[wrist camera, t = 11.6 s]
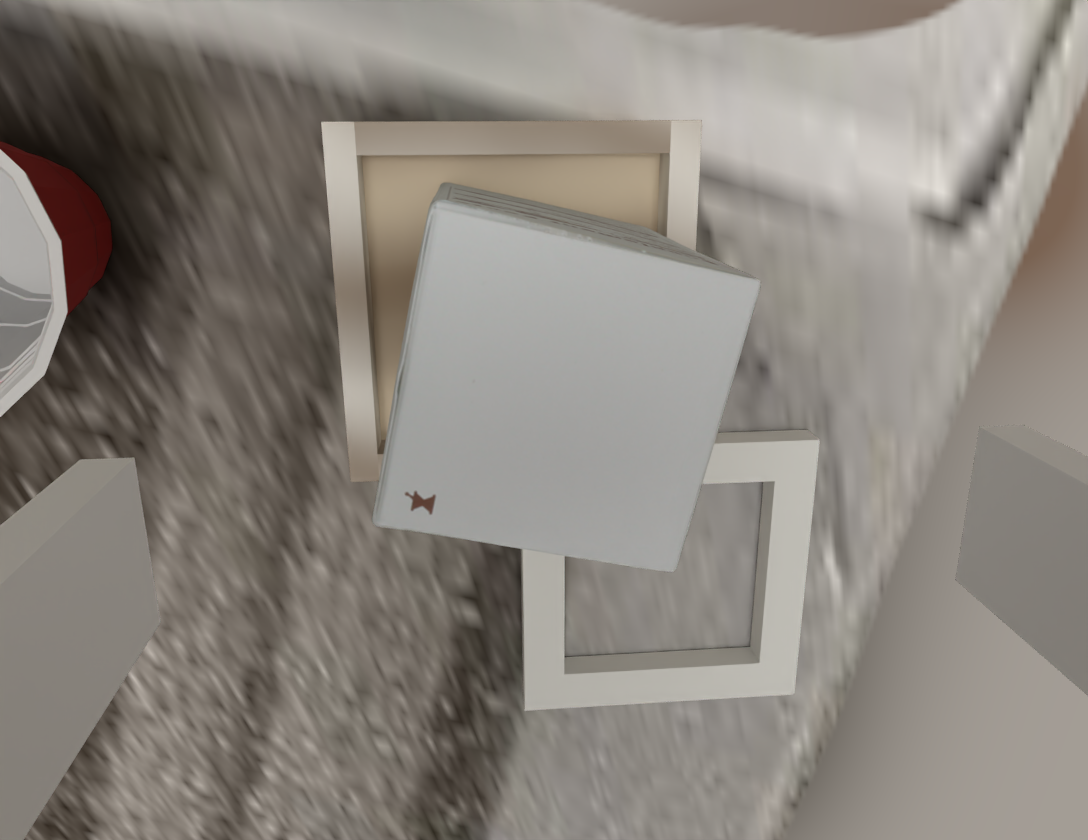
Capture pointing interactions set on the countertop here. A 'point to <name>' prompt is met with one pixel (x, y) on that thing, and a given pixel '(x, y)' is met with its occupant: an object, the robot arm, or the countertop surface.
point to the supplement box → (558, 381)
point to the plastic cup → (43, 261)
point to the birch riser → (488, 164)
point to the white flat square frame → (692, 673)
